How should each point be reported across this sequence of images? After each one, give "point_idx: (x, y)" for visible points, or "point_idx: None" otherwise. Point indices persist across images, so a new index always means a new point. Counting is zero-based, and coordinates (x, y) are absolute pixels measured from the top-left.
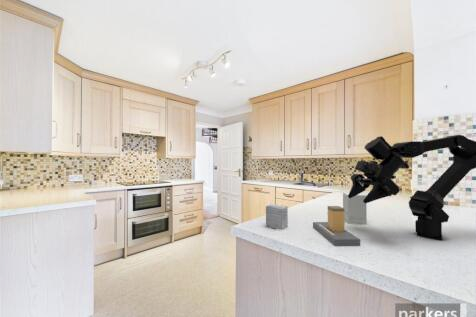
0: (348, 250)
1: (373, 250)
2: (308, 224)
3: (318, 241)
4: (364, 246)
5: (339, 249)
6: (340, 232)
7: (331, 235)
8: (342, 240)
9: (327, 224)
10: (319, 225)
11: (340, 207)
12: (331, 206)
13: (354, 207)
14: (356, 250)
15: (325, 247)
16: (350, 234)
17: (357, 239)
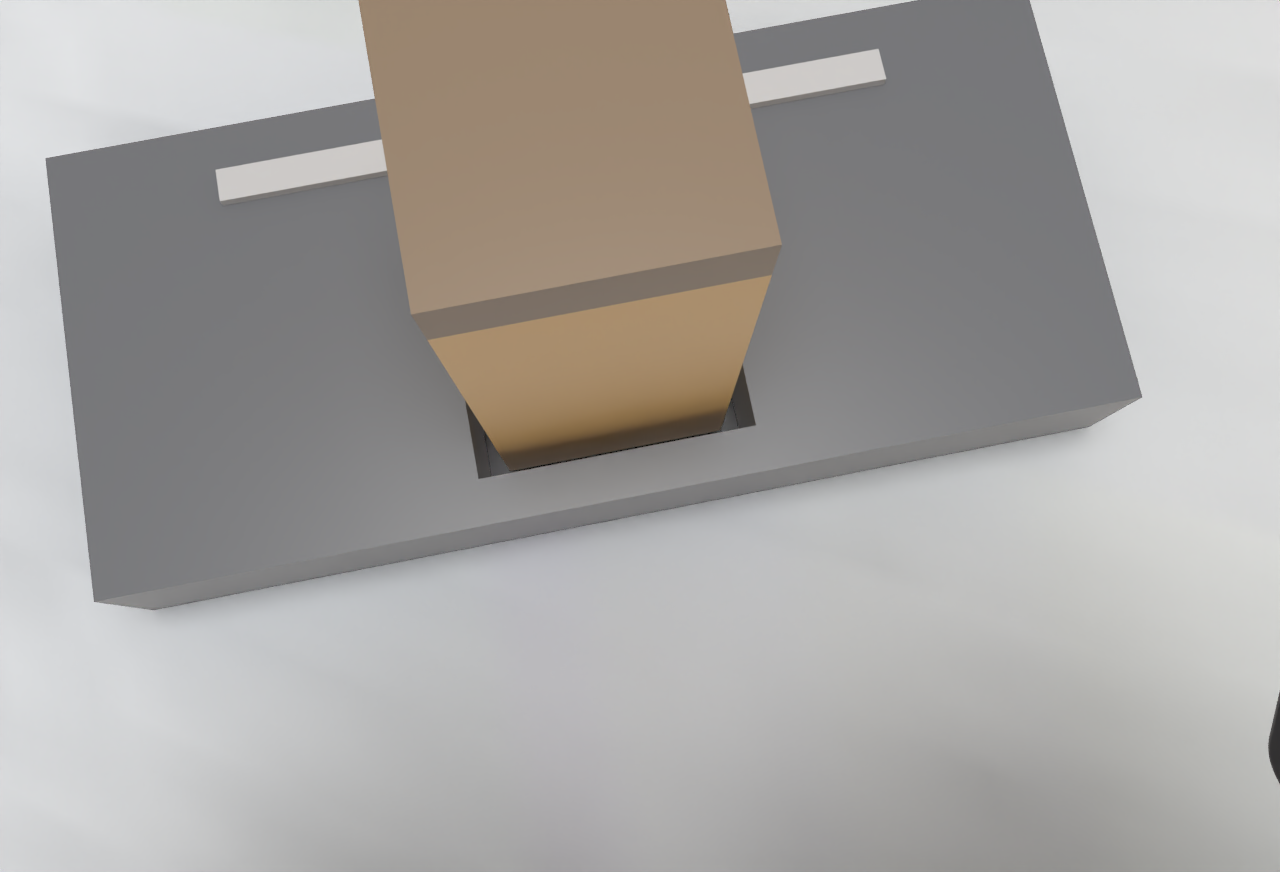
0: (17, 379)
1: (49, 778)
2: (1227, 8)
3: (329, 24)
4: (201, 697)
5: (43, 258)
6: (425, 356)
7: (241, 151)
8: (68, 289)
9: (916, 237)
10: (807, 64)
11: (548, 240)
12: (654, 8)
13: None
14: (27, 501)
15: (100, 77)
16: (334, 511)
17: (92, 551)
